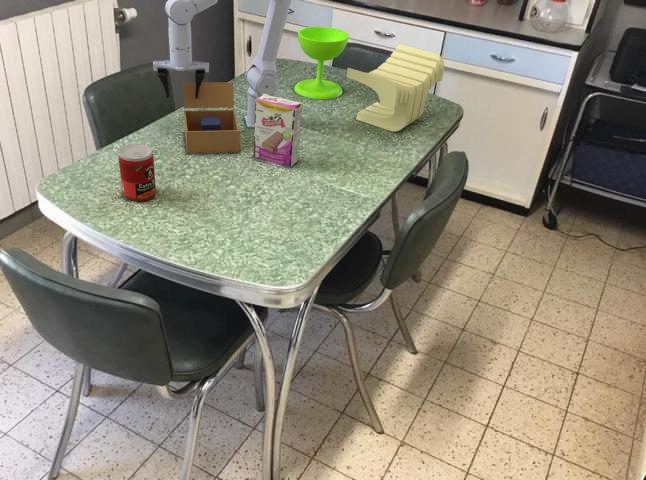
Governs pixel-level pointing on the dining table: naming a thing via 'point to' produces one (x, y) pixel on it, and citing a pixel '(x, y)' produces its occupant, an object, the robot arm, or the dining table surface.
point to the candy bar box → (277, 129)
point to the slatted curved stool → (400, 87)
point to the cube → (210, 124)
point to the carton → (211, 132)
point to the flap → (209, 95)
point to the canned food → (137, 171)
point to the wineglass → (321, 59)
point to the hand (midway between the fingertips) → (182, 96)
